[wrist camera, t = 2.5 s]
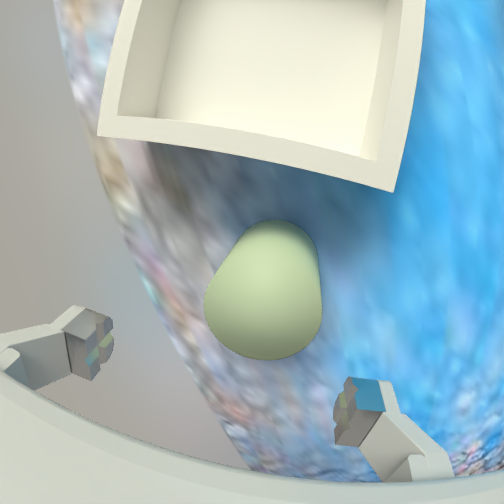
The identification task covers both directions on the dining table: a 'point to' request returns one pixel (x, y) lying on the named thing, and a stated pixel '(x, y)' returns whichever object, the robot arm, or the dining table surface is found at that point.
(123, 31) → the bin
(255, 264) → the pale green rounded piece
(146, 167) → the dining table surface
